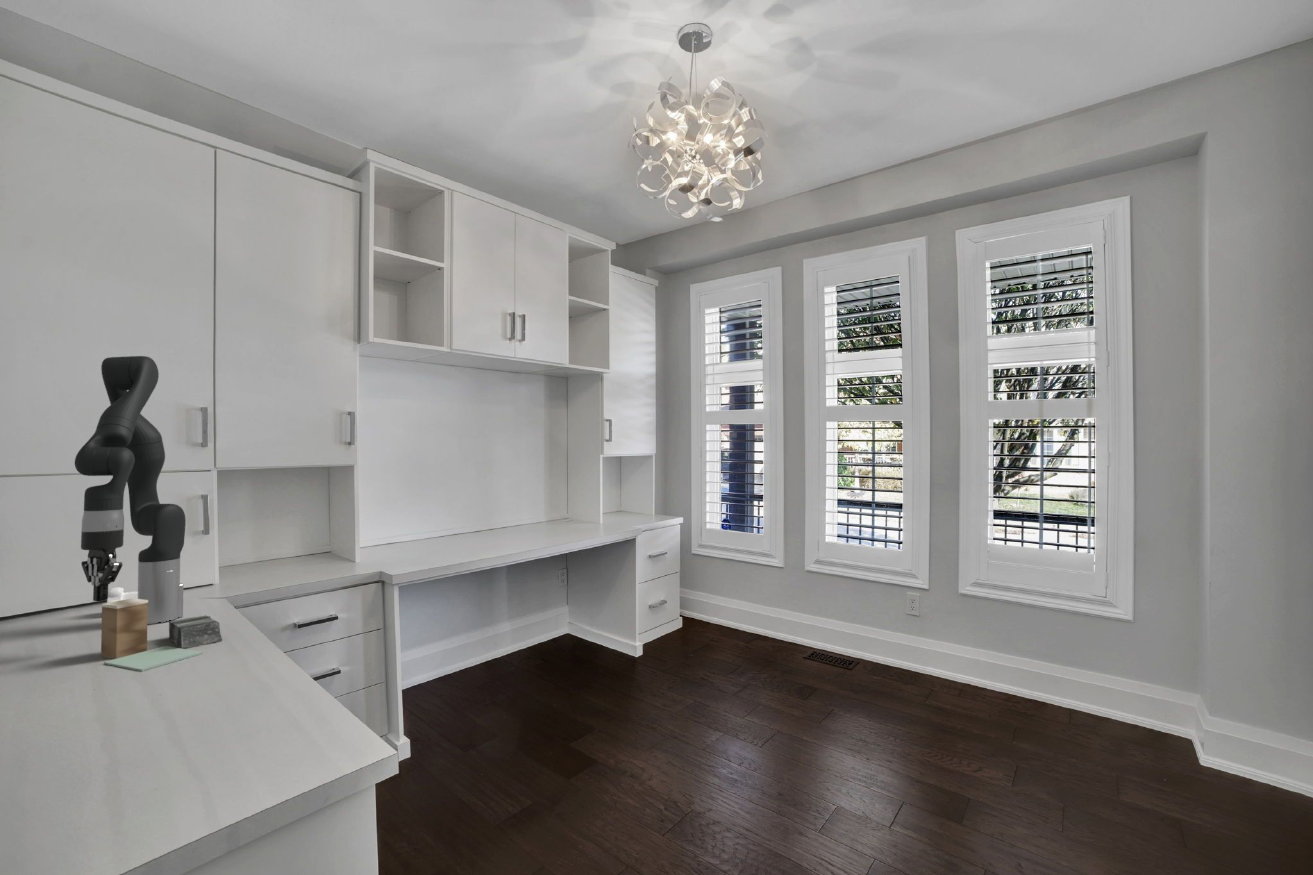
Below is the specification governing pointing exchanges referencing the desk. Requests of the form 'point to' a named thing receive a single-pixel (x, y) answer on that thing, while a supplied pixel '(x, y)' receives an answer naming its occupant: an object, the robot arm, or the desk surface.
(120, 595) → the bone shaped toy
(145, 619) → the walnut block
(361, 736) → the desk surface
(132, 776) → the desk surface
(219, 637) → the stone block
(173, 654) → the sage mat
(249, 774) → the desk surface
